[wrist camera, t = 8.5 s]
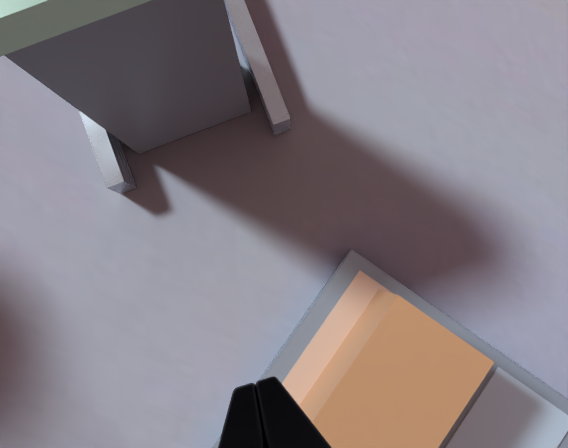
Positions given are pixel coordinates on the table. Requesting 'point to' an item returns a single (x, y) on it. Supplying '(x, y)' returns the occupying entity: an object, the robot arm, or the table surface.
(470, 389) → the orange rectangular block
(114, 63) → the plunger
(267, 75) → the plunger track
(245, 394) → the robot arm
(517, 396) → the picture board
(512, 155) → the table surface
